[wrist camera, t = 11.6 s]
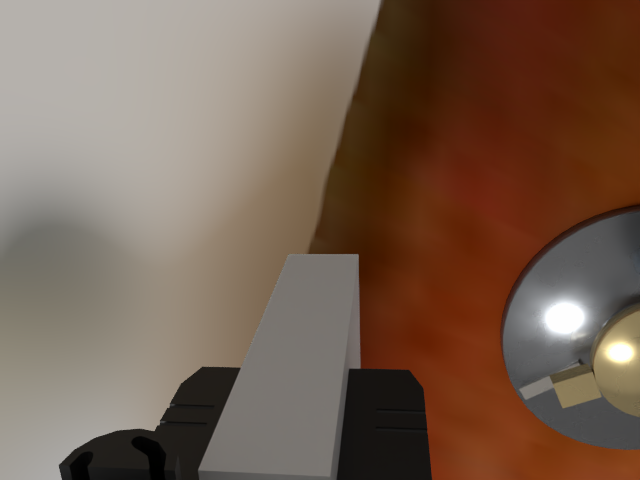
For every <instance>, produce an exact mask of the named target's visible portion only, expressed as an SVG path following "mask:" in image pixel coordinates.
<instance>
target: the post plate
mask: <svg viewBox="0 0 640 480" xmlns="http://www.w3.org/2000/svg"><path fill="white" fill-rule="evenodd" d="M638 303H640V206H631V207H626V208H621V209H616V210H612V211H609V212H606V213H603V214H600V215H597V216H594V217H592V218H590V219H587V220H585V221H583V222H581V223H578V224H576V225H575V226H573V227H571V228H570V229H568V230H566V231H565V232H563V233H561V234H560V235H559V236H557V237H556V238H555V239H553V240H552V241H551V242H549V243H548V244H547V245H545V246H544V247H543V248H542V249H541V250H540V251H539V252H538V253H537V254H536V255H535V256H534V257H533V258H532V259H531V261H530V262H529V263H528V264H527V265H526V267H525V268H524V269H523V270H522V272H521V273H520V275H519V277H518V278H517V280H516V282H515V283H514V285H513V287H512V289H511V291H510V294H509V296H508V298H507V300H506V304H505V308H504V311H503V315H502V322H501V329H500V335H501V349H502V355H503V360H504V363H505V366H506V369H507V372H508V374H509V377H510V380H511V383H512V385H513V386H514V388H515V390H516V392H517V394H518V396H519V397H520V398H521V400H522V401H523V402H524V404H525V405H526V406H527V408H528V409H529V410H530V411H531V412H532V413H533V414H534V415H535V416H536V417H537V418H539V419H540V420H541V421H543V422H544V423H545V424H547V425H548V426H549V427H551V428H553V429H554V430H556V431H558V432H559V433H561V434H563V435H565V436H568V437H570V438H572V439H575V440H577V441H580V442H584V443H587V444H590V445H594V446H600V447H605V448H612V449H625V450H630V449H640V417H637V416H633V415H630V414H628V413H625V412H623V411H621V410H619V409H618V408H616V407H614V406H613V405H612V404H611V403H610V402H608V400H607V399H606V398H605V397H604V396H603V394H602V393H601V391H600V390H599V391H600V393H601V396H602V397H600V398H597V399H593V400H590V401H587V402H583V403H580V404H576V405H573V406H570V407H566V408H562V406H561V404H560V401H559V399H558V397H557V394H556V392H555V389H554V387H553V384H552V382H551V379H550V377H549V375H551V374H554V373H558V372H561V371H564V370H567V369H570V368H574V367H577V366H580V365H583V364H586V363H588V365H589V367H590V352H591V347H592V345H593V342H594V340H595V338H596V336H597V334H598V333H599V331H600V330H601V328H602V327H603V326H604V325H605V324H606V323H607V322H608V321H609V320H610V319H611V318H612V317H614V316H615V315H616V314H618V313H619V312H621V311H622V310H624V309H626V308H628V307H630V306H633V305H635V304H638Z"/></svg>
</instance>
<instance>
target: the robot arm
mask: <svg viewBox="0 0 640 480" xmlns="http://www.w3.org/2000/svg"><path fill="white" fill-rule="evenodd" d="M59 469H60V473H61V477H62V480H432V475H431V464H430V454H429V443H428V433H427V422H426V414H425V400H424V390H423V387H422V386H421V385H420V384H419V382H418V381H417V380H416V378H415V377H414V376H413V374H412V373H411V372H410V371H409V370H392V369H360V320H359V264H358V254H289V255H288V257H287V260H286V262H285V264H284V267H283V269H282V272H281V274H280V276H279V279H278V281H277V283H276V286H275V289H274V291H273V293H272V295H271V298H270V300H269V302H268V305H267V307H266V310H265V312H264V315H263V317H262V319H261V322H260V324H259V326H258V329H257V331H256V333H255V336H254V339H253V341H252V343H251V345H250V348H249V350H248V353H247V355H246V357H245V360H244V362H243V364H242V367H241V368H230V367H202V368H200V369H199V370H198V371H197V372H196V373H194V374H193V375H192V376H190V377H189V378H188V379H187V380H185V381H184V382H183V383H181V385H180V387H179V389H178V390H177V392H176V394H175V396H174V397H173V399H172V401H171V403H170V408H167V410H166V412H165V413H164V415H163V417H162V419H161V420H160V426H157V427H156V429H155V431H149V430H144V429H131V430H120V431H115V432H112V433H109V434H106V435H103V436H99V437H96V438H94V439H92V440H91V441H89V442H87V443H85V444H84V445H82V446H80V447H79V448H77V449H75V450H74V451H73V452H72V453H71V454H70V455H69V456H68V457H67V458H66V459H65V460H64V461H63V462H62V463H61V464H60V465H59Z"/></svg>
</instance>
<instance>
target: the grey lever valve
mask: <svg viewBox="0 0 640 480" xmlns="http://www.w3.org/2000/svg"><path fill="white" fill-rule="evenodd" d="M549 377H550V379H551V382H552V384H553V387H554V389H555V392H556V394H557V397H558V399H559V401H560V404H561V406H562V408H566V407H570V406H573V405H576V404H580V403H583V402H587V401H590V400H593V399H597V398H600V397H602V396H601V393H602V394H603V396H604V397H605V398H606V399H607V400H608V402H610V403H611V404H612V405H613V406H614V407H616V408H618V409H619V410H621V411H623V412H625V413H628V414H630V415H633V416H637V417H640V303H638V304H635V305H633V306H630V307H628V308H626V309H624V310H622V311H621V312H619V313H618V314H616V315H615V316H614V317H612V318H611V319H610V320H609V321H608V322H607V323H606V324H605V325H604V326H603V327H602V328H601V330H600V331H599V333H598V334H597V336H596V338H595V340H594V342H593V345H592V347H591V352H590V367H589V365H588V363H586V364H583V365H580V366H577V367H574V368H570V369H567V370H564V371H561V372H558V373H554V374H551V375H549ZM599 390H600V391H601V393H600V391H599Z"/></svg>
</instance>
